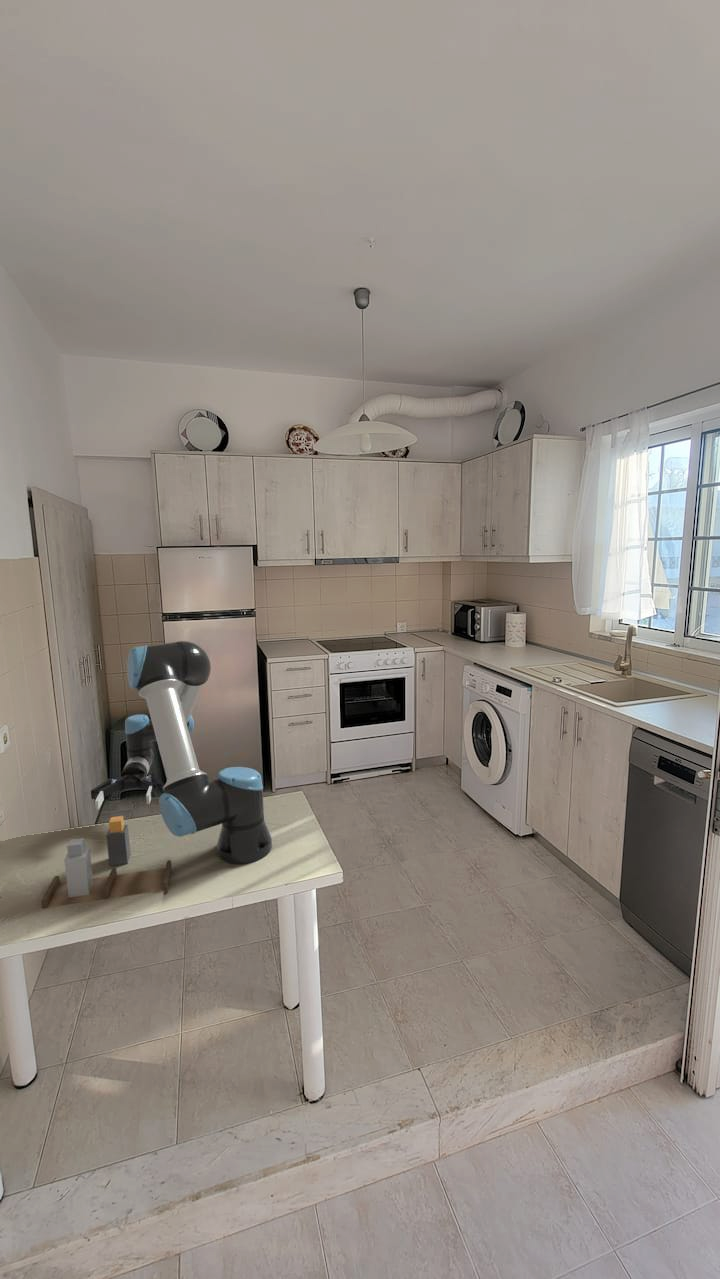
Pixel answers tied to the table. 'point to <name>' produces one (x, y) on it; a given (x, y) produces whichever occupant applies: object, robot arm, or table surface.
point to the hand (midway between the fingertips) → (122, 802)
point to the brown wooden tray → (111, 886)
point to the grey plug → (78, 868)
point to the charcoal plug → (118, 842)
